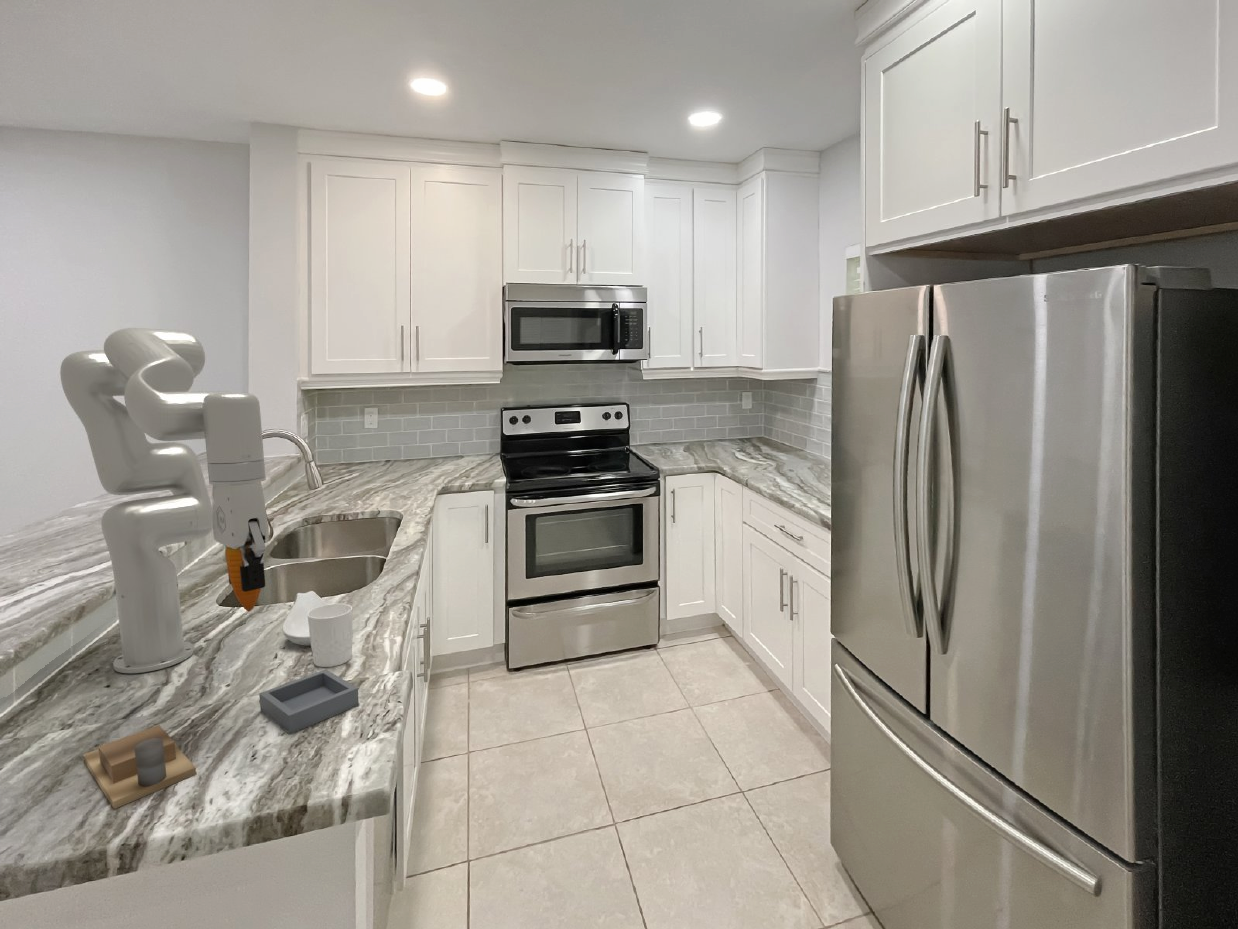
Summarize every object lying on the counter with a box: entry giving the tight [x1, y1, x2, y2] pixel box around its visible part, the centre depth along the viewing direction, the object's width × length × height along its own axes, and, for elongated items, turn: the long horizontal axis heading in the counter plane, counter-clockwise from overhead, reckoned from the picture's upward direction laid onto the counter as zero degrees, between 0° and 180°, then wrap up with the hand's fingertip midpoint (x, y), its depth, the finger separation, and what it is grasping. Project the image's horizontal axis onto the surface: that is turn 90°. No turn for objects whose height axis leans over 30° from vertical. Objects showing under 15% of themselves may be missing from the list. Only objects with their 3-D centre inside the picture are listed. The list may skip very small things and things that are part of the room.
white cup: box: [307, 603, 353, 668], centre depth 119 cm, size 8×8×10 cm
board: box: [82, 738, 197, 810], centre depth 86 cm, size 16×9×6 cm, turn 51°
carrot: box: [225, 541, 262, 612], centre depth 98 cm, size 5×5×15 cm
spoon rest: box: [282, 590, 329, 646], centre depth 134 cm, size 24×12×7 cm, turn 35°
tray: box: [258, 668, 360, 735], centre depth 102 cm, size 11×11×3 cm
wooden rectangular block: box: [97, 724, 176, 784], centre depth 86 cm, size 7×7×2 cm
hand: (247, 584), depth 98 cm, fingers closed on carrot, 4 cm apart
